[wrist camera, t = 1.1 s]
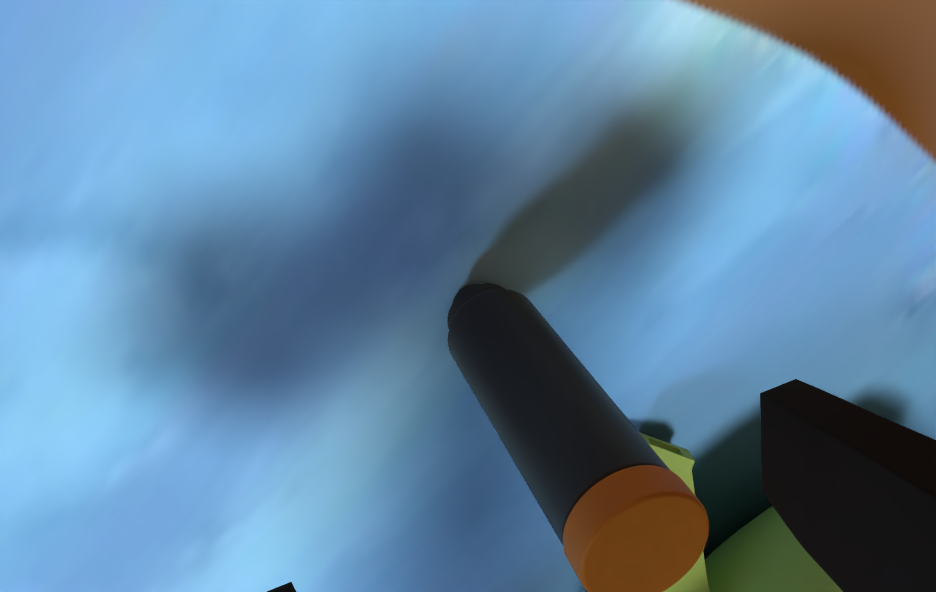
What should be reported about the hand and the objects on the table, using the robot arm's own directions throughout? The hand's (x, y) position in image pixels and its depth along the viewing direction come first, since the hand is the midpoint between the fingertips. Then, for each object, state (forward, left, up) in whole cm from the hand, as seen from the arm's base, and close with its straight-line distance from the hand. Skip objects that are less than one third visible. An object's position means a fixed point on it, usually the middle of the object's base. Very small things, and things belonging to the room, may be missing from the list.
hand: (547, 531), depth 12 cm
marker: (-2, -2, -10) cm, 10 cm away
